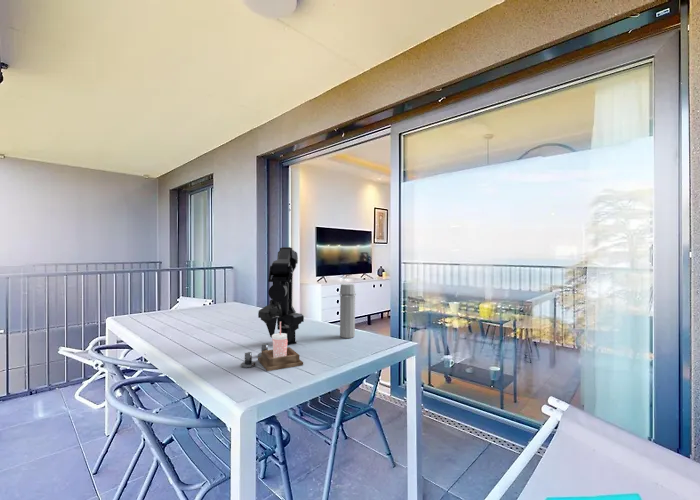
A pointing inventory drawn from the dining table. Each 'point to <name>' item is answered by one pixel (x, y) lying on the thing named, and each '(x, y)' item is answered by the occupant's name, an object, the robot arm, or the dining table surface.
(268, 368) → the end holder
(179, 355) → the dining table surface
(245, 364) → the knob
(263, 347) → the knob
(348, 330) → the water bottle
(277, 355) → the beverage cup
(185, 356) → the dining table surface
